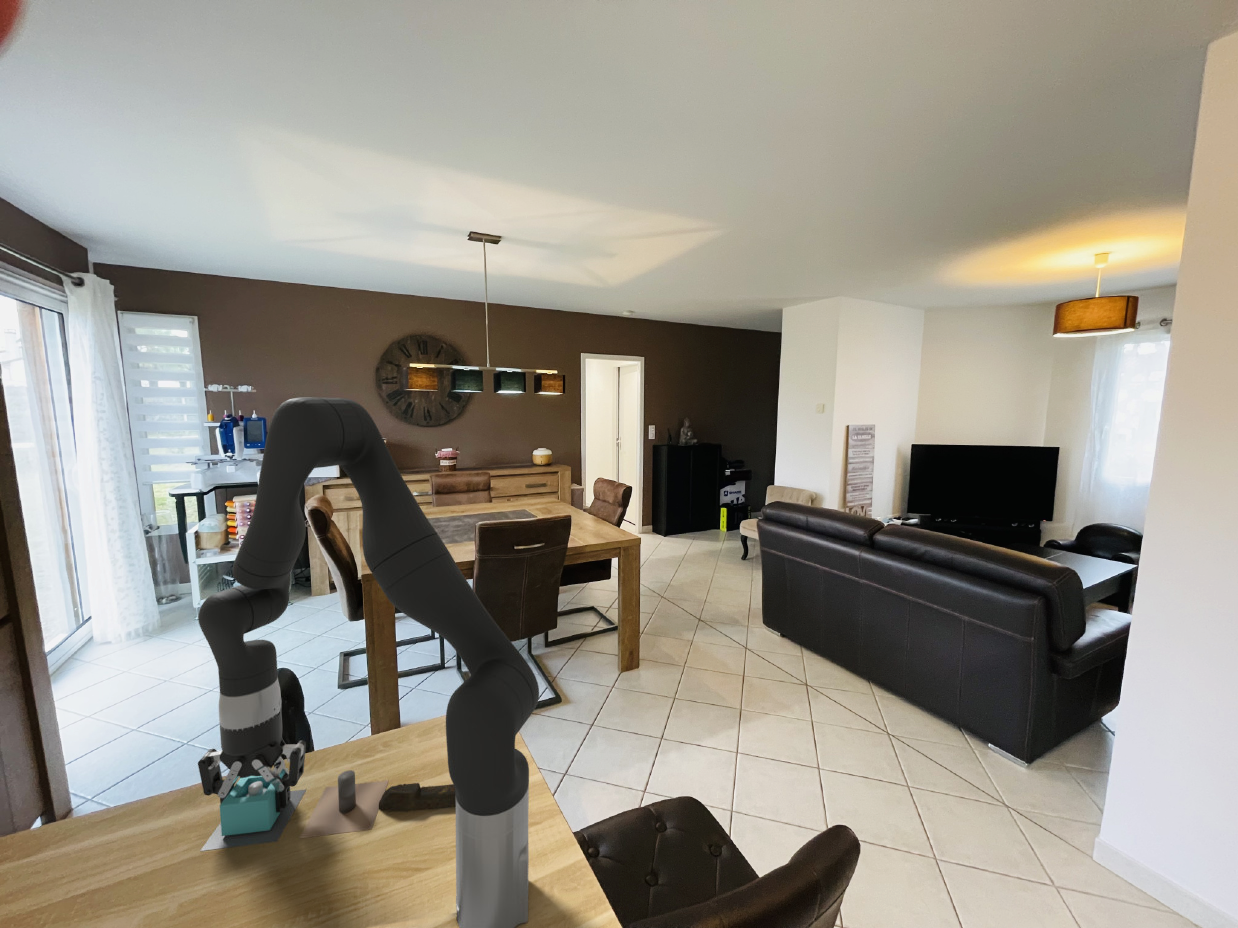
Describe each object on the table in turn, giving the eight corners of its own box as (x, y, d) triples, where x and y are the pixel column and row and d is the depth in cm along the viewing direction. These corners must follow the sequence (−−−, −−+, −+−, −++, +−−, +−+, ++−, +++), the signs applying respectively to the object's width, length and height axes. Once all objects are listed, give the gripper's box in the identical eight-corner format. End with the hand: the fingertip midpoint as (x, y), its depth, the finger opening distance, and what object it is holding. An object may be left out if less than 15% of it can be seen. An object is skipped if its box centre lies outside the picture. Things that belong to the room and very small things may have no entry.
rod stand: (389, 785, 85) (388, 750, 84) (371, 834, 75) (370, 796, 74) (326, 792, 83) (324, 757, 82) (299, 844, 73) (297, 804, 72)
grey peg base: (306, 794, 82) (305, 759, 81) (277, 846, 72) (275, 807, 72) (239, 802, 80) (237, 765, 79) (200, 856, 70) (197, 816, 70)
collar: (289, 796, 80) (288, 768, 79) (269, 829, 74) (268, 799, 73) (245, 801, 79) (243, 773, 78) (221, 835, 72) (219, 805, 72)
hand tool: (500, 793, 84) (500, 768, 83) (497, 812, 80) (497, 786, 80) (385, 802, 81) (384, 776, 81) (376, 822, 77) (375, 795, 77)
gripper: (179, 732, 69) (188, 838, 71) (292, 722, 72) (297, 824, 74) (212, 700, 76) (219, 797, 78) (313, 693, 79) (317, 787, 81)
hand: (257, 810), depth 76 cm, fingers closed on collar, 6 cm apart
